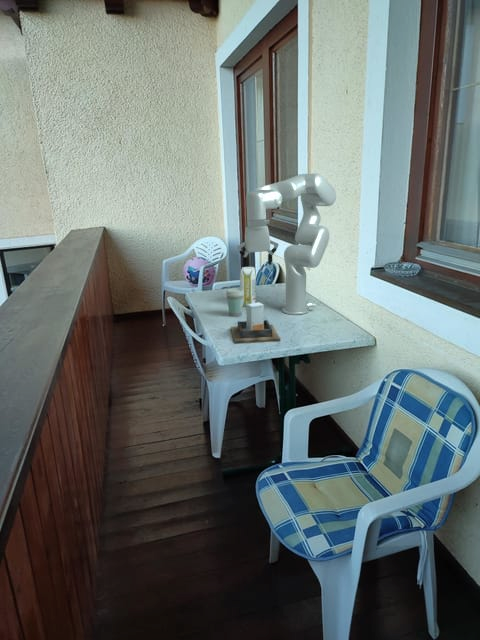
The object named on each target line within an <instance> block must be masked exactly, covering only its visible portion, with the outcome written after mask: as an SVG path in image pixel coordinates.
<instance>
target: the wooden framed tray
mask: <svg viewBox="0 0 480 640" xmlns="http://www.w3.org/2000/svg"><path fill="white" fill-rule="evenodd" d="M230 331H231V334H232V338H233V342H234V344H235V345H236V344H251V343H252V344H253V343H267V342H268V343H269V342H270V343H271V342H281V337H280V335H279V334H278V332H277V330H276V328H275V326H274V325H273V324H270V322H269V321H268V319H264V329H262V330H247V328H246V320H243V321H237V326H236V325H235V326H230Z"/></svg>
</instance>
